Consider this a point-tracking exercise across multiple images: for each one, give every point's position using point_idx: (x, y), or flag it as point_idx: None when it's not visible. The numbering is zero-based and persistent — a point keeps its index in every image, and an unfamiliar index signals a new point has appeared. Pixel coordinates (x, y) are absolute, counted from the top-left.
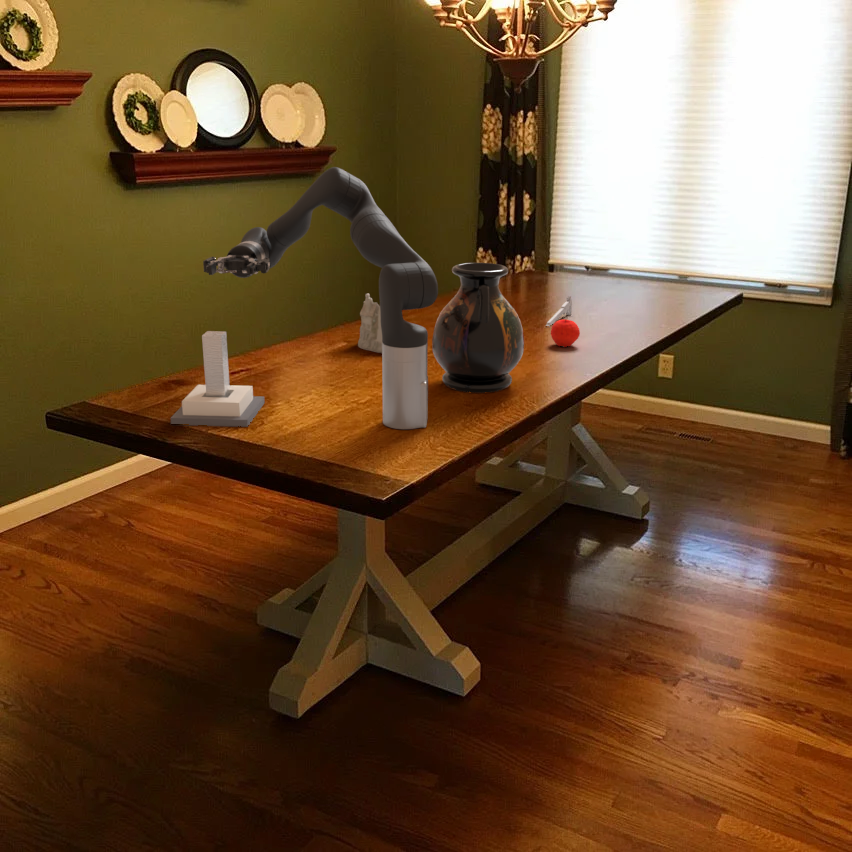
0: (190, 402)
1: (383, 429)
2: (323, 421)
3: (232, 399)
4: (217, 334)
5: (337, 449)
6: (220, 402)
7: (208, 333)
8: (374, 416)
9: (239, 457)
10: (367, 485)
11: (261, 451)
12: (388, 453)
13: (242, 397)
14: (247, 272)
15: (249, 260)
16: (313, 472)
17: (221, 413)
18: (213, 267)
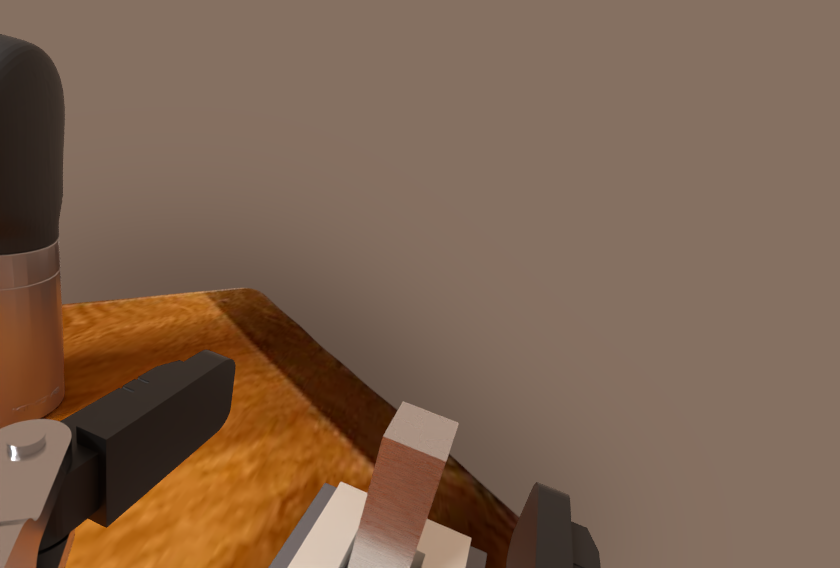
0: (450, 531)
1: (81, 394)
2: None
3: (351, 507)
4: (412, 417)
5: None
6: None
7: (440, 435)
8: None
9: (366, 394)
10: (250, 303)
11: (330, 398)
12: (164, 336)
13: (323, 513)
14: (227, 396)
15: (23, 520)
16: (289, 337)
17: None
18: (523, 560)
